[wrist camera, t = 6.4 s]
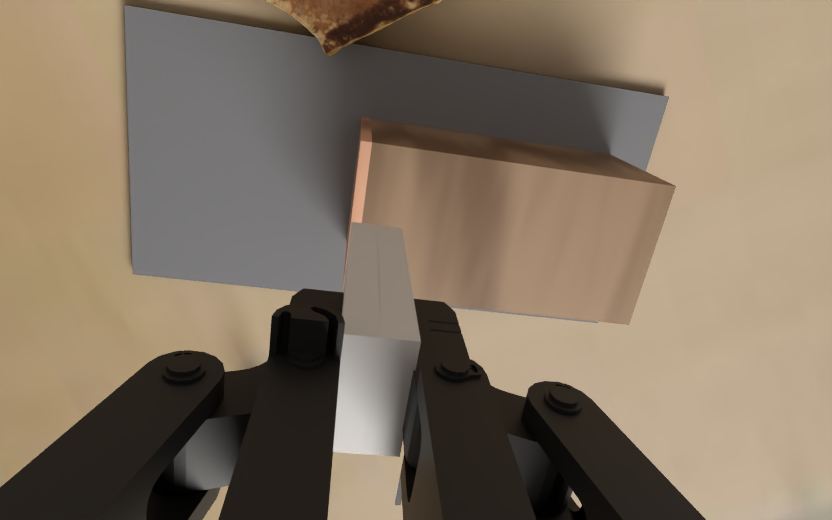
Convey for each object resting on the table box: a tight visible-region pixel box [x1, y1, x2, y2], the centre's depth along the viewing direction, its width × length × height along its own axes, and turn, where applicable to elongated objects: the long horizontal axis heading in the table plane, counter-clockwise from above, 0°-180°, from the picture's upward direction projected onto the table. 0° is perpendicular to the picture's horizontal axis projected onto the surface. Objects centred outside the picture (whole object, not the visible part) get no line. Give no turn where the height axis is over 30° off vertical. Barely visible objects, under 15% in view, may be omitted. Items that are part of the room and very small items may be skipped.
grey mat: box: [124, 5, 669, 323], centre depth 26 cm, size 24×12×1 cm, turn 81°
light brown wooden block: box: [342, 117, 676, 325], centre depth 24 cm, size 6×6×12 cm
